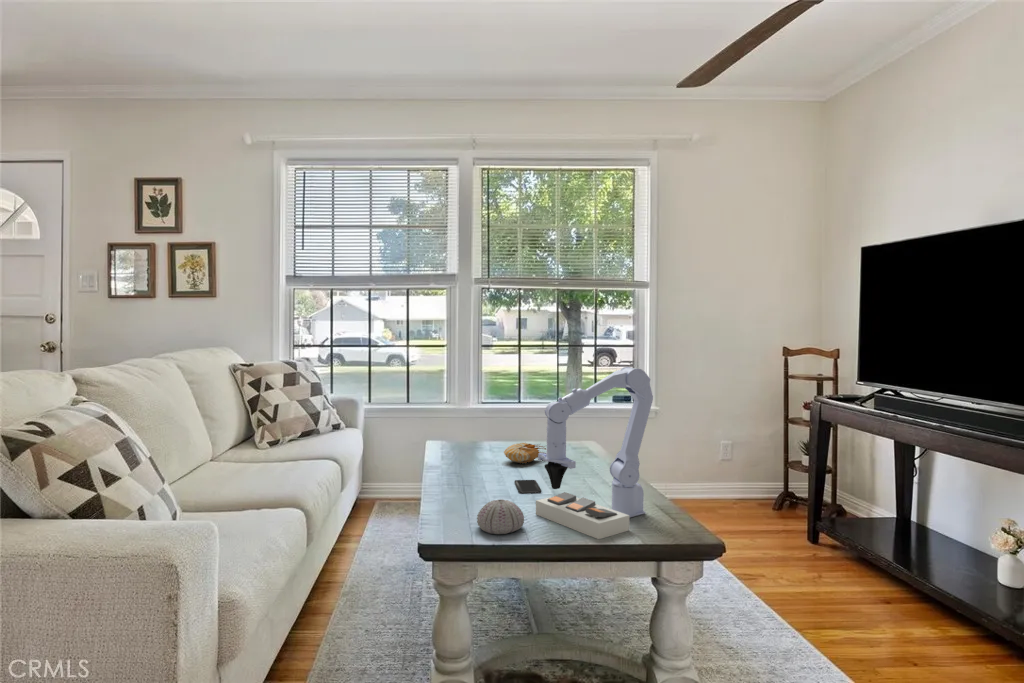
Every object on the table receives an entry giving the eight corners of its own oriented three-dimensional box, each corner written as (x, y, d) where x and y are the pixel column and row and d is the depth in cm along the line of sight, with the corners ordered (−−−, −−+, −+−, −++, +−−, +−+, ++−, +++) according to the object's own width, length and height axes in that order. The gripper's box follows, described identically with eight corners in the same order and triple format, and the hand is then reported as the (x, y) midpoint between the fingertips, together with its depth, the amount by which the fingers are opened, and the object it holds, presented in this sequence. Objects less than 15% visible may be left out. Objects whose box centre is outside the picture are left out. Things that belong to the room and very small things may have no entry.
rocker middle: (583, 502, 173) (582, 497, 173) (595, 506, 169) (595, 501, 169) (566, 511, 169) (565, 505, 169) (578, 515, 165) (577, 510, 165)
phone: (519, 491, 198) (514, 480, 213) (519, 494, 198) (514, 483, 213) (542, 490, 199) (535, 479, 214) (542, 494, 199) (535, 482, 214)
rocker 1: (565, 496, 179) (564, 491, 179) (576, 500, 175) (576, 495, 175) (547, 503, 175) (547, 498, 175) (559, 507, 171) (558, 502, 171)
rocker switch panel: (565, 507, 183) (565, 493, 183) (629, 530, 162) (629, 515, 162) (535, 514, 176) (535, 500, 175) (598, 539, 155) (598, 523, 155)
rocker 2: (602, 514, 166) (603, 508, 167) (615, 518, 162) (616, 512, 163) (585, 513, 162) (586, 507, 162) (598, 518, 158) (599, 512, 158)
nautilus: (546, 458, 256) (557, 468, 241) (498, 457, 250) (506, 467, 236) (548, 440, 255) (559, 449, 241) (500, 439, 250) (508, 447, 235)
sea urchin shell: (476, 537, 156) (476, 507, 155) (476, 521, 169) (476, 493, 169) (526, 537, 156) (526, 507, 156) (522, 521, 170) (522, 493, 170)
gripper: (530, 440, 177) (530, 485, 177) (562, 448, 165) (562, 496, 165) (548, 437, 181) (547, 481, 181) (581, 445, 169) (580, 492, 170)
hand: (556, 488), depth 174 cm, fingers closed
